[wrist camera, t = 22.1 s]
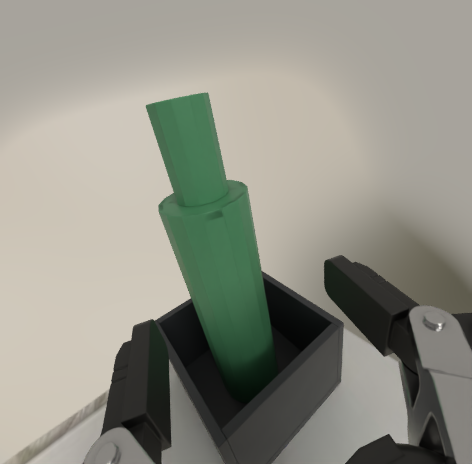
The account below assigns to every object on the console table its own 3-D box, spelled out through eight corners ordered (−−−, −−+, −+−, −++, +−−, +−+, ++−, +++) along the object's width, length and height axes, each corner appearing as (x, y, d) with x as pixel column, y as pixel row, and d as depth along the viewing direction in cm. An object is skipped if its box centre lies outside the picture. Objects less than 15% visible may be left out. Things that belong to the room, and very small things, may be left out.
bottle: (264, 340, 25) (216, 92, 14) (288, 388, 21) (244, 82, 10) (217, 359, 24) (127, 111, 13) (232, 414, 20) (113, 109, 9)
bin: (258, 312, 30) (248, 262, 26) (341, 382, 21) (344, 322, 18) (177, 374, 25) (150, 323, 21) (243, 497, 16) (217, 448, 13)
